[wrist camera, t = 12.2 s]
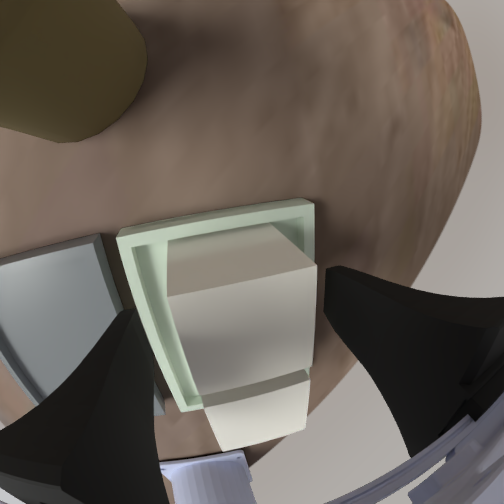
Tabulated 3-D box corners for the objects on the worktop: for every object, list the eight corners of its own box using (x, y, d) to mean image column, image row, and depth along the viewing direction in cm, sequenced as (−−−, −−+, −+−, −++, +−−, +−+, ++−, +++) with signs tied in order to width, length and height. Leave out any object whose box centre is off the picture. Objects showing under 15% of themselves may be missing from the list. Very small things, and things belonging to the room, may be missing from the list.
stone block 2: (276, 370, 16) (305, 428, 12) (207, 387, 15) (222, 451, 11) (273, 316, 14) (310, 379, 10) (190, 335, 13) (203, 408, 9)
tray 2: (301, 368, 17) (308, 380, 16) (179, 397, 15) (181, 412, 14) (301, 197, 12) (314, 203, 11) (120, 228, 11) (115, 237, 10)
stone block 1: (272, 303, 14) (312, 365, 10) (187, 322, 13) (199, 395, 9) (267, 220, 12) (317, 265, 8) (167, 239, 11) (166, 297, 7)
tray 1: (164, 399, 15) (165, 414, 14) (50, 407, 13) (47, 419, 12) (99, 233, 10) (92, 243, 9) (-31, 268, 9) (-42, 278, 8)
